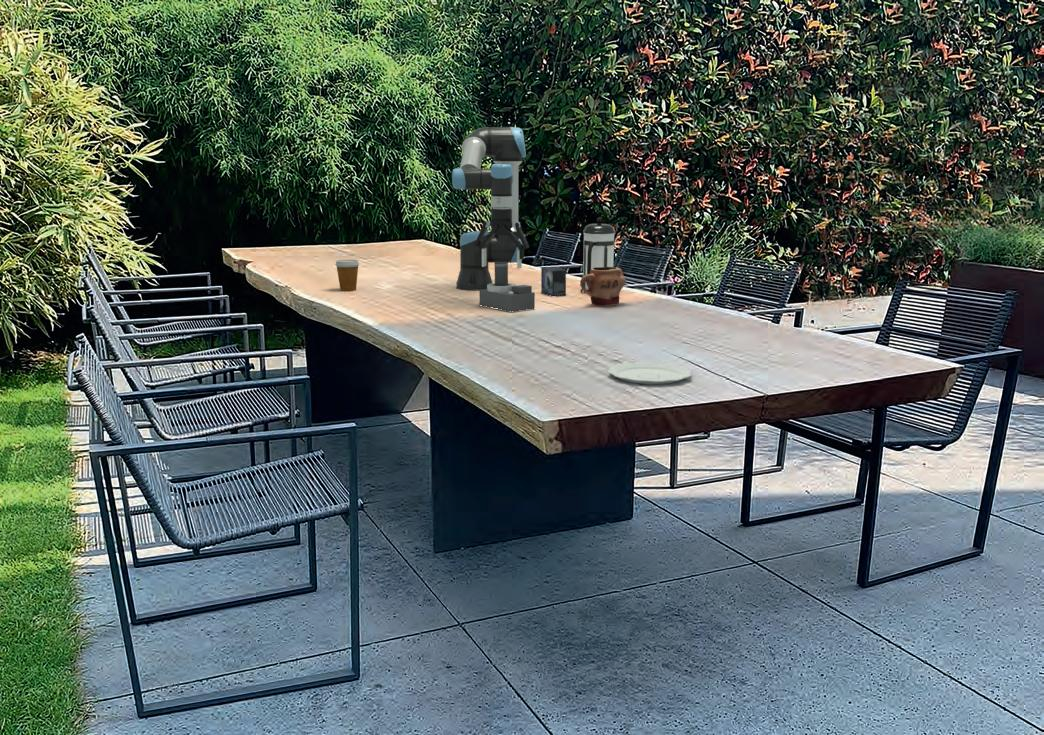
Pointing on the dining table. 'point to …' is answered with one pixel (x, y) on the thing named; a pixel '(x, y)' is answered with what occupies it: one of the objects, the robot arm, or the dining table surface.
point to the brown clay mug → (604, 285)
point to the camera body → (508, 297)
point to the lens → (501, 273)
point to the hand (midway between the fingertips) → (501, 267)
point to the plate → (649, 372)
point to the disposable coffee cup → (347, 274)
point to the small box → (553, 281)
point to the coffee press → (598, 247)
